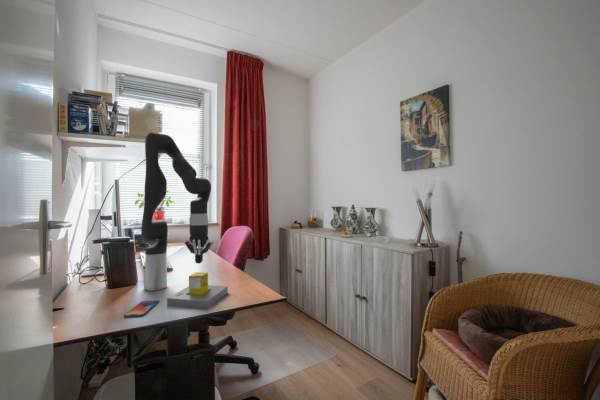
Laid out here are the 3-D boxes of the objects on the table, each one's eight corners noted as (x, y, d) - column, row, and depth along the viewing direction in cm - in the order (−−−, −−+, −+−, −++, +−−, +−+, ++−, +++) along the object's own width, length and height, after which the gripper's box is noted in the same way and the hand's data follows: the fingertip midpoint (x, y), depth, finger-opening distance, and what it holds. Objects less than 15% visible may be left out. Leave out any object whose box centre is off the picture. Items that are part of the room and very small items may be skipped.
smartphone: (160, 302, 115) (160, 300, 115) (143, 317, 100) (143, 314, 100) (142, 303, 114) (142, 300, 114) (122, 318, 99) (122, 315, 99)
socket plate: (167, 305, 110) (167, 297, 110) (192, 290, 128) (192, 283, 128) (206, 308, 106) (206, 301, 106) (227, 292, 124) (227, 286, 124)
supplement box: (208, 296, 120) (208, 272, 120) (202, 301, 114) (201, 276, 114) (195, 296, 120) (195, 271, 120) (188, 301, 114) (188, 275, 114)
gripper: (179, 224, 114) (180, 264, 115) (208, 225, 112) (208, 266, 112) (190, 222, 122) (190, 260, 122) (217, 223, 119) (217, 261, 119)
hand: (199, 262), depth 117 cm, fingers closed
